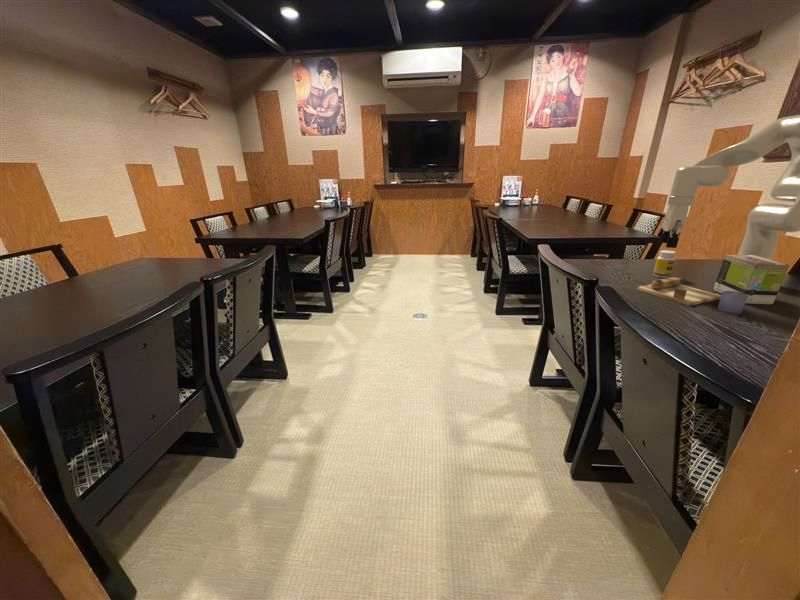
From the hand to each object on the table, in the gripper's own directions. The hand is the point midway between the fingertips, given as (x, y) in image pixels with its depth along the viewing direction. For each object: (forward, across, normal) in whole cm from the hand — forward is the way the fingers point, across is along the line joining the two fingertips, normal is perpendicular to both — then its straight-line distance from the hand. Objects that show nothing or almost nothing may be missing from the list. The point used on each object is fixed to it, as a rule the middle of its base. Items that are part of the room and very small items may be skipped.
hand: (667, 245), depth 130 cm
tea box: (+17, +6, +25) cm, 30 cm away
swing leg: (+15, +7, +2) cm, 16 cm away
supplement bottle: (+17, -14, +4) cm, 22 cm away
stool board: (+17, +11, +5) cm, 21 cm away
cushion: (+17, +23, +16) cm, 33 cm away
